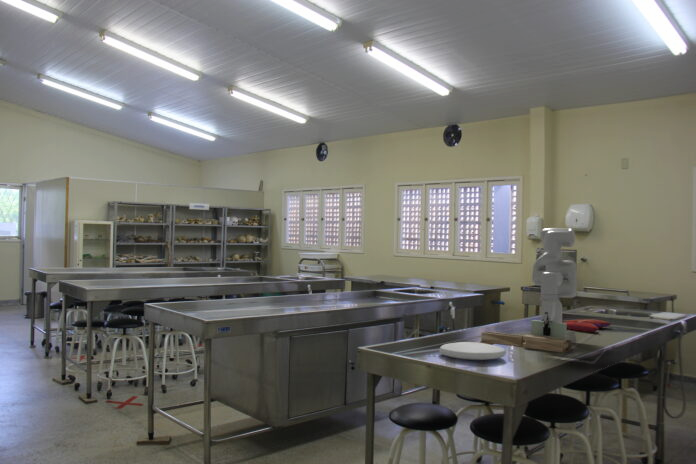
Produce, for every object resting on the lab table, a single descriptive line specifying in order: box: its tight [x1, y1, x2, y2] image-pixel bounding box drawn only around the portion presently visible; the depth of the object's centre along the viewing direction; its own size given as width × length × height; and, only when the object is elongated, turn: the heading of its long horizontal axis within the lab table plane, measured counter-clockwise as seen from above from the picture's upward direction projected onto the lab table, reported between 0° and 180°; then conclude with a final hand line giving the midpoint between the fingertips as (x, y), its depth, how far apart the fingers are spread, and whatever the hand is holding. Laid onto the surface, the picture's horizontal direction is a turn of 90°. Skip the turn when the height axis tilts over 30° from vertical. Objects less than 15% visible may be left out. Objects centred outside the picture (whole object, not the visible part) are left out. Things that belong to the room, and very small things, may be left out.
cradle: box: [479, 331, 526, 347], centre depth 265 cm, size 10×20×5 cm, turn 57°
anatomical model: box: [562, 318, 612, 333], centre depth 326 cm, size 30×7×30 cm
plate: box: [439, 341, 507, 361], centre depth 234 cm, size 28×6×27 cm
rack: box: [522, 333, 573, 354], centre depth 254 cm, size 14×20×7 cm
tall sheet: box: [530, 319, 567, 339], centre depth 257 cm, size 2×16×12 cm, turn 57°
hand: (548, 334), depth 257 cm, fingers open, 6 cm apart
